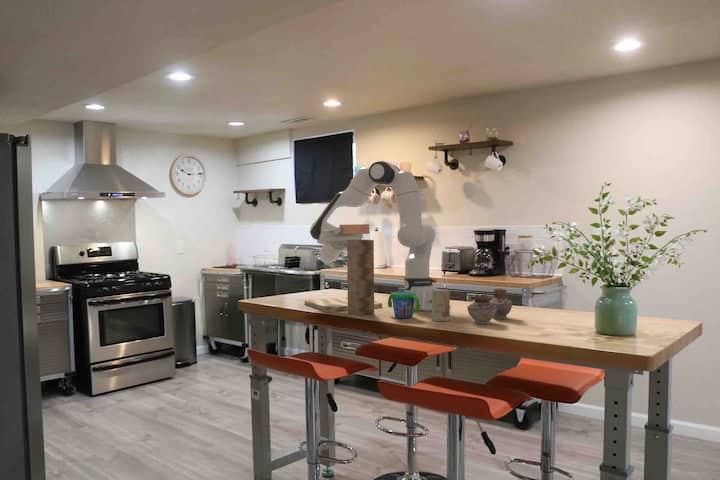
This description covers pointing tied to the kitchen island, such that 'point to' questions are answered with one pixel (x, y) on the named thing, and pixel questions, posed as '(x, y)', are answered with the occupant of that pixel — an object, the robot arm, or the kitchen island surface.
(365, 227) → the terracotta rail
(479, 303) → the pottery
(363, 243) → the walnut stand
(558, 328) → the kitchen island surface
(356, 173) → the robot arm
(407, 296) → the snack cup
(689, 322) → the kitchen island surface
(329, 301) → the oak base board
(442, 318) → the skincare box
